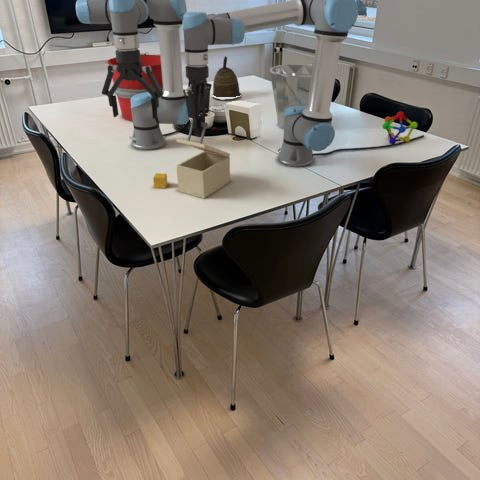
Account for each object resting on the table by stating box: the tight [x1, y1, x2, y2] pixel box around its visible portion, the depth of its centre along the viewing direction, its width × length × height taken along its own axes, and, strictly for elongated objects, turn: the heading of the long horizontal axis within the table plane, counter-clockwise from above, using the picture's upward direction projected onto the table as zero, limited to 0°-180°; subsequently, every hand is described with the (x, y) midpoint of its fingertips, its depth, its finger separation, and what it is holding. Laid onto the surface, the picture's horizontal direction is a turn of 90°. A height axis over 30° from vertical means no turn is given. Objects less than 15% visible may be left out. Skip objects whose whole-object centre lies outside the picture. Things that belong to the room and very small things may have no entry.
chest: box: [176, 150, 231, 199], centre depth 166 cm, size 17×12×10 cm
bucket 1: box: [103, 52, 163, 122], centre depth 240 cm, size 35×35×30 cm
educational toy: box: [382, 110, 418, 145], centre depth 207 cm, size 16×13×15 cm
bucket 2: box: [269, 63, 313, 129], centre depth 226 cm, size 30×30×28 cm
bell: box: [212, 56, 242, 97], centre depth 278 cm, size 19×26×20 cm
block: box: [152, 172, 169, 189], centre depth 168 cm, size 4×4×4 cm
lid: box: [176, 119, 231, 157], centre depth 161 cm, size 18×12×9 cm, turn 149°
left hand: (135, 116), depth 150 cm, fingers open, 13 cm apart
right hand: (199, 135), depth 157 cm, fingers closed on lid, 2 cm apart
